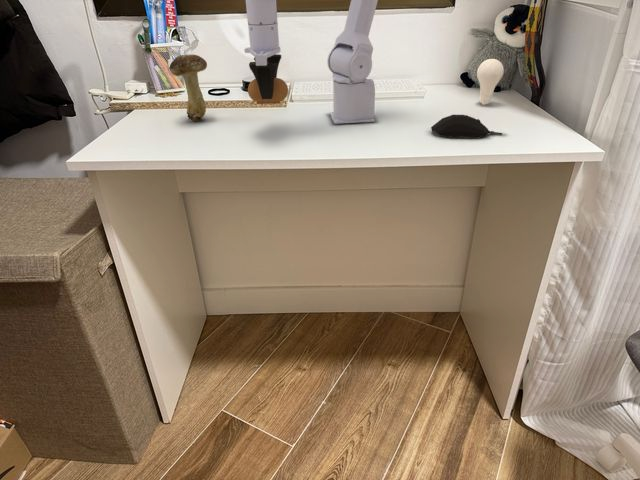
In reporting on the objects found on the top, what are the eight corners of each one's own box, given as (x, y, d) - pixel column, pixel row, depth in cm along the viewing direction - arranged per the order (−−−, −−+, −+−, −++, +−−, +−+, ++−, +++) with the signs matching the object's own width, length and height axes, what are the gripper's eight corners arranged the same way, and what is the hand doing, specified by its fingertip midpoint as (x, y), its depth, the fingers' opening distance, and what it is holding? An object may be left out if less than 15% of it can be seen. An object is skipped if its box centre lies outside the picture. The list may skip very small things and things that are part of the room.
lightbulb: (500, 108, 109) (509, 61, 103) (475, 108, 109) (483, 61, 103) (492, 101, 114) (501, 56, 108) (468, 101, 114) (476, 56, 108)
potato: (289, 98, 95) (288, 74, 92) (288, 104, 91) (286, 80, 88) (250, 99, 95) (248, 75, 92) (247, 105, 91) (244, 80, 88)
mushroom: (206, 127, 101) (195, 58, 93) (171, 125, 103) (157, 57, 94) (222, 115, 109) (212, 50, 101) (189, 114, 110) (178, 50, 102)
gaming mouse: (505, 139, 91) (509, 120, 88) (432, 138, 92) (434, 119, 90) (498, 129, 96) (502, 111, 94) (429, 128, 97) (431, 110, 95)
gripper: (247, 19, 91) (254, 86, 98) (235, 29, 79) (244, 105, 86) (281, 18, 91) (285, 86, 98) (275, 28, 78) (280, 104, 86)
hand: (268, 95), depth 92 cm, fingers closed on potato, 5 cm apart
